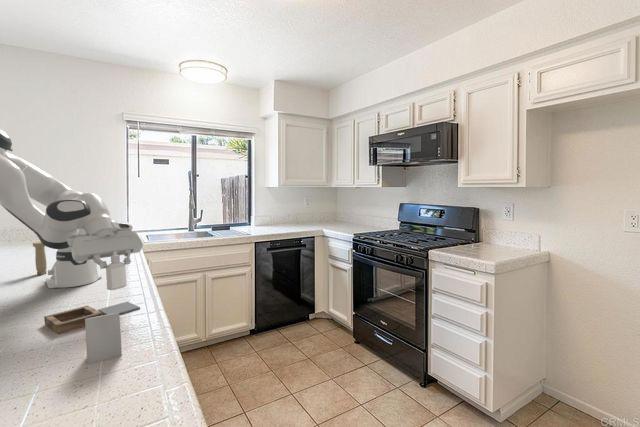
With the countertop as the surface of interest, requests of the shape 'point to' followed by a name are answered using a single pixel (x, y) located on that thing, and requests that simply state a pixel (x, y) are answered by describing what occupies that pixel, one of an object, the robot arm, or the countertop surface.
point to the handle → (40, 258)
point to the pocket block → (57, 319)
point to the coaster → (119, 308)
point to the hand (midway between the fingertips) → (116, 265)
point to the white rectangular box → (103, 337)
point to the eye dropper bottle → (116, 273)
